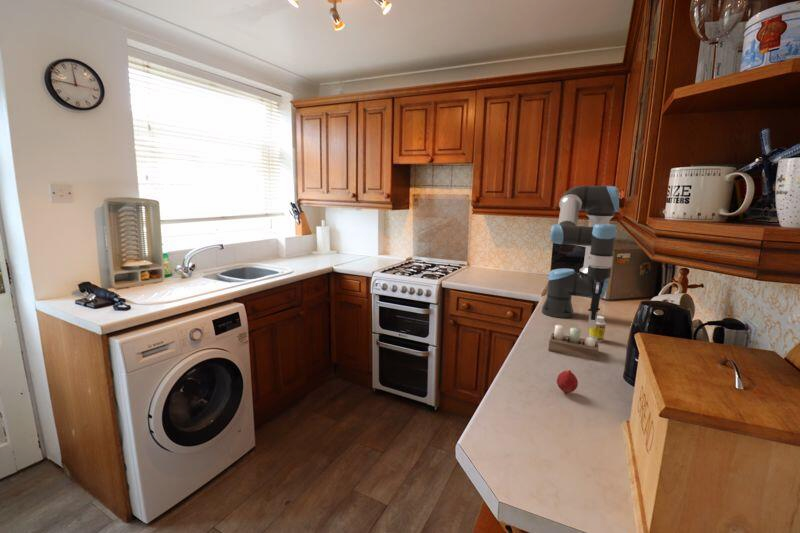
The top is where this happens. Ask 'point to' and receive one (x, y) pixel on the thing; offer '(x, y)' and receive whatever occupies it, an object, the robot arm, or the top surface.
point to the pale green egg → (574, 335)
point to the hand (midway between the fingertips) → (591, 326)
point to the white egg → (590, 341)
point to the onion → (567, 381)
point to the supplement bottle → (598, 329)
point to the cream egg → (559, 332)
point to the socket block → (574, 348)
